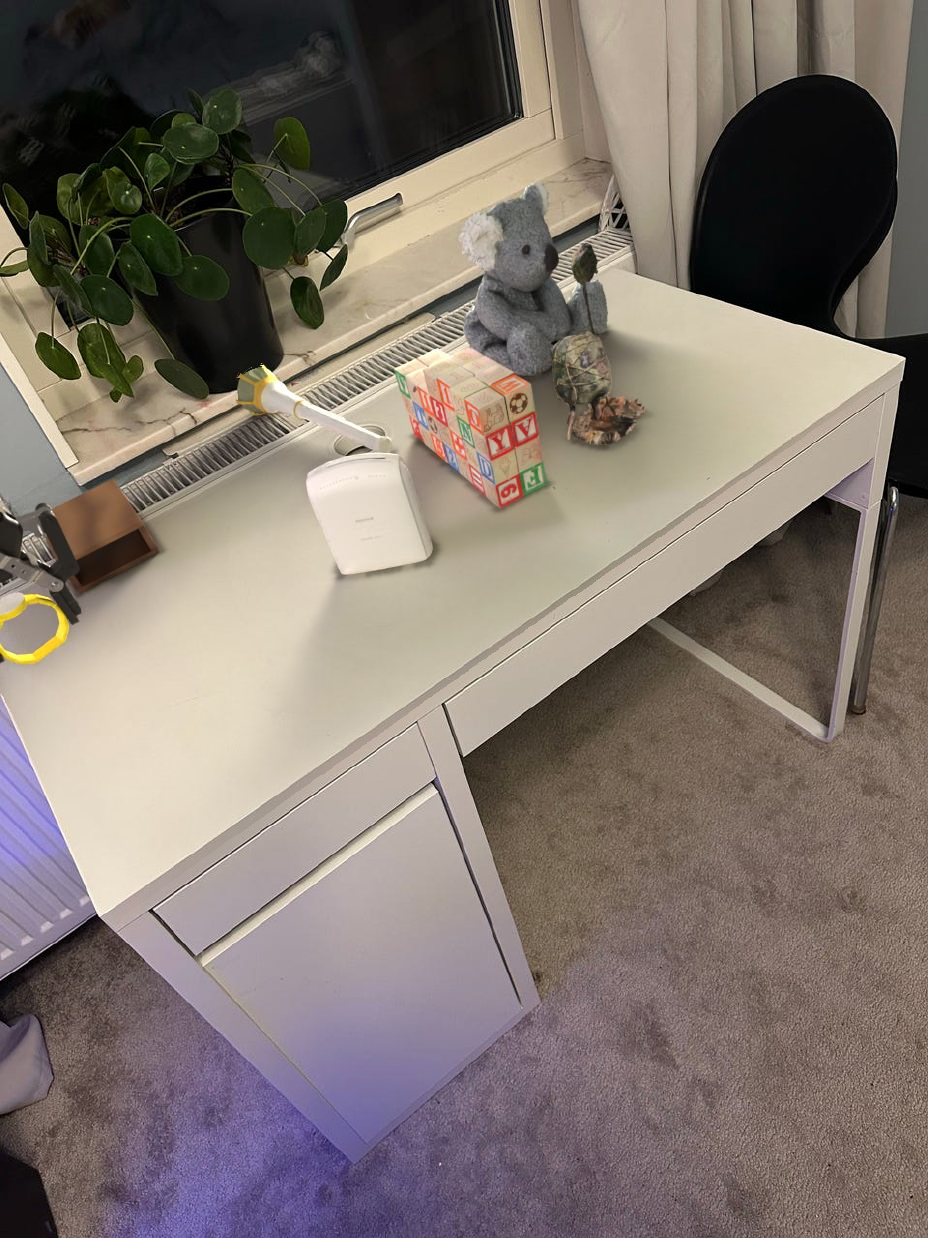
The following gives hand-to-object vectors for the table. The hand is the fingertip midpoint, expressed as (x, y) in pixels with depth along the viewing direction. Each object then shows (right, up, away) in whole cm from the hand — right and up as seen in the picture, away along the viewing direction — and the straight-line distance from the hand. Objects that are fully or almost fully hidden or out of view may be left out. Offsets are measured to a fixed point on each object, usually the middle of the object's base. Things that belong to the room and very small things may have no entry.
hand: (36, 638), depth 73 cm
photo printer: (+29, +8, +15) cm, 33 cm away
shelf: (-6, +10, +28) cm, 30 cm away
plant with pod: (+53, +23, +24) cm, 63 cm away
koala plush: (+46, +40, +43) cm, 75 cm away
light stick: (+18, +27, +39) cm, 50 cm away
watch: (0, -1, +1) cm, 2 cm away
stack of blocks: (+39, +20, +25) cm, 50 cm away
